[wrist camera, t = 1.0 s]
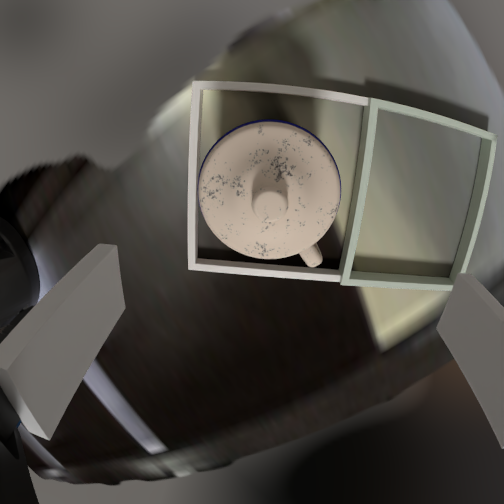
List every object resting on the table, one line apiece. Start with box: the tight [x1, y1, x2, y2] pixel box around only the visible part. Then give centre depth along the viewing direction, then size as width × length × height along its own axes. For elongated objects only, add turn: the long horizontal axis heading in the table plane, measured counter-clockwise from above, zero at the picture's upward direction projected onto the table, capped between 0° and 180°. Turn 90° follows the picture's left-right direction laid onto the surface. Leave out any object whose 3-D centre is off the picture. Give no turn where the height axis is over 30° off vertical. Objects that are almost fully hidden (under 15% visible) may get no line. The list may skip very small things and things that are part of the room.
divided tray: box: [188, 81, 497, 291], centre depth 27 cm, size 29×17×2 cm, turn 86°
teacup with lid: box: [197, 120, 341, 267], centre depth 23 cm, size 12×9×12 cm
